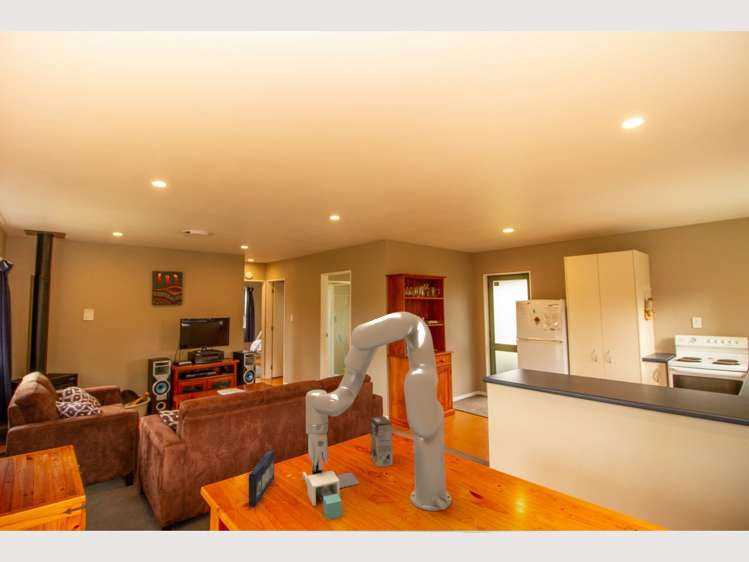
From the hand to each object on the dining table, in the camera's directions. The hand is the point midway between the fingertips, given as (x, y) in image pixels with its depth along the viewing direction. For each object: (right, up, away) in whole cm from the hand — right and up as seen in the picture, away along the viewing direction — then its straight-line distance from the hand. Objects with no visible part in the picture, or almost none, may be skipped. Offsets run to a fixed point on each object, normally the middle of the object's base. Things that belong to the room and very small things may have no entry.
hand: (317, 482), depth 123 cm
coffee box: (+22, -3, +19) cm, 30 cm away
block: (+7, 0, -17) cm, 18 cm away
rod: (+4, -1, -8) cm, 9 cm away
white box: (+1, -2, -1) cm, 2 cm away
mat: (+9, -2, +3) cm, 9 cm away
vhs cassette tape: (-18, -2, -2) cm, 18 cm away
